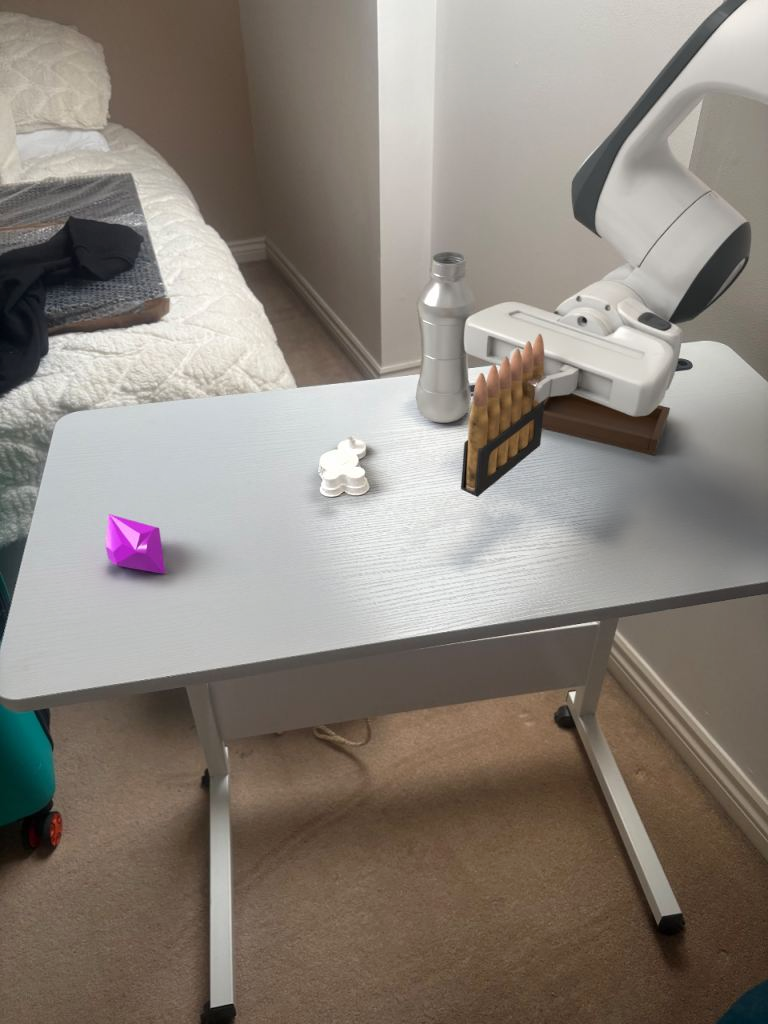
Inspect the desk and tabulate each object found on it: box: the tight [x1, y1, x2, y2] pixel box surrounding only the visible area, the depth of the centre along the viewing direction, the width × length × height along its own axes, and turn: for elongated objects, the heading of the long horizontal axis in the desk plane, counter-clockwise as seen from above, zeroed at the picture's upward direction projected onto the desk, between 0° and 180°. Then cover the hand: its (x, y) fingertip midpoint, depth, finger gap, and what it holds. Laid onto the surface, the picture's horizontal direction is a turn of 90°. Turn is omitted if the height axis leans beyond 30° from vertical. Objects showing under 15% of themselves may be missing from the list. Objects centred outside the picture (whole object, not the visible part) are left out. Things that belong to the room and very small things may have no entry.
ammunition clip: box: [460, 334, 545, 498], centre depth 75 cm, size 11×2×12 cm, turn 139°
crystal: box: [105, 513, 166, 575], centre depth 81 cm, size 5×5×5 cm
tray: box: [542, 393, 671, 456], centre depth 99 cm, size 15×8×2 cm, turn 65°
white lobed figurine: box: [317, 435, 370, 509], centre depth 92 cm, size 9×9×2 cm
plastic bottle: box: [415, 251, 477, 424], centre depth 96 cm, size 6×7×20 cm
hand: (518, 387), depth 74 cm, fingers closed on ammunition clip, 2 cm apart
